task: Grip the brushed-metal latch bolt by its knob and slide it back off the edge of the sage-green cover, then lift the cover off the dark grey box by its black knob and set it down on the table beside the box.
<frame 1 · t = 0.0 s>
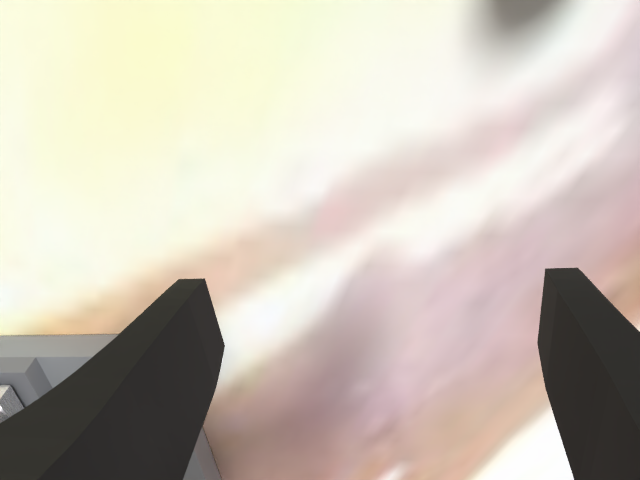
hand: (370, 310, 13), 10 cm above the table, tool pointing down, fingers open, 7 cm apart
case: (91, 437, 34), on the table
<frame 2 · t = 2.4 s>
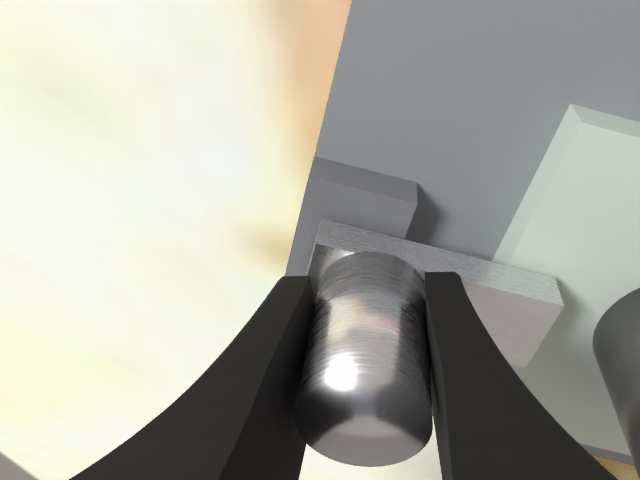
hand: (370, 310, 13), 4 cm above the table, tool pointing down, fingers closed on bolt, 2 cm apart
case: (604, 231, 16), on the table
bolt: (427, 348, 12), point 5 cm above the table, slide at 0.0 cm, touching gripper
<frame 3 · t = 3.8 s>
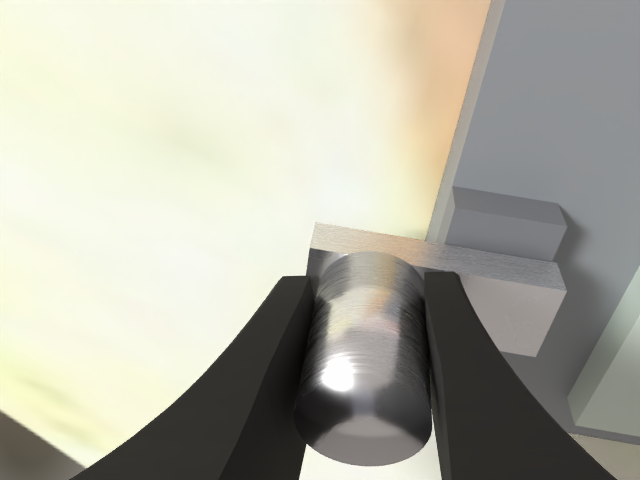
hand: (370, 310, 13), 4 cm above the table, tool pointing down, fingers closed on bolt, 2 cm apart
bolt: (428, 344, 12), point 5 cm above the table, slide at 3.5 cm, touching gripper
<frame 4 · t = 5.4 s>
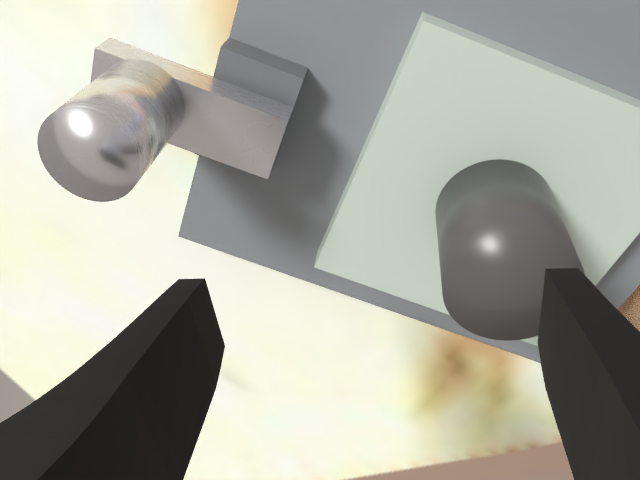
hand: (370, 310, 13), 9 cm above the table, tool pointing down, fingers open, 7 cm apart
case: (458, 134, 20), on the table
lid: (489, 194, 20), point 1 cm above the table, touching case
bolt: (171, 135, 16), point 5 cm above the table, slide at 3.5 cm
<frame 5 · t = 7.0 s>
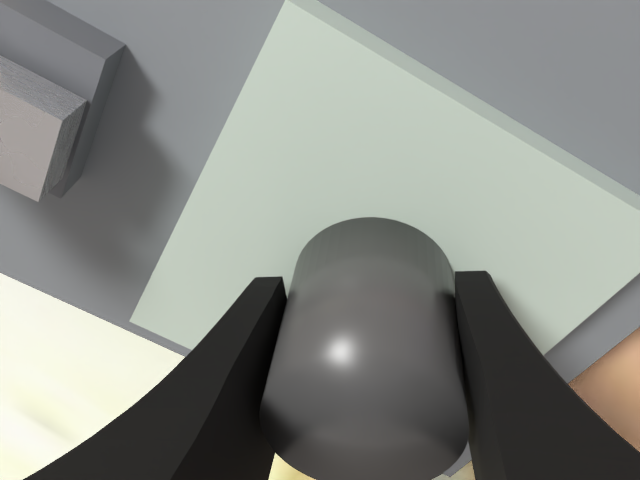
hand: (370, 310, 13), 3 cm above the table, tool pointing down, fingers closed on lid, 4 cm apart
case: (346, 168, 15), on the table
lid: (374, 258, 14), point 1 cm above the table, touching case, gripper
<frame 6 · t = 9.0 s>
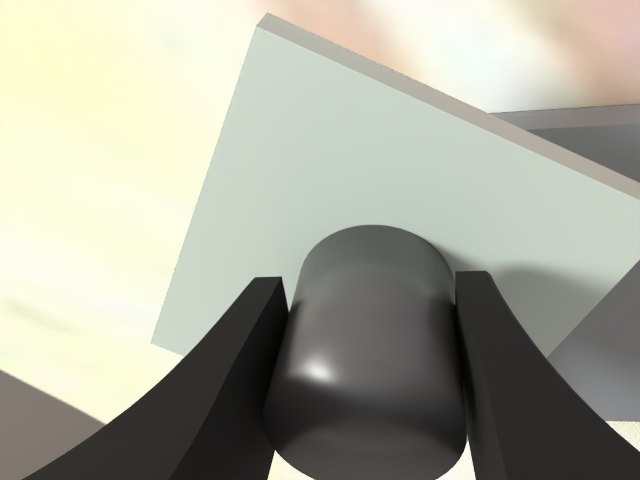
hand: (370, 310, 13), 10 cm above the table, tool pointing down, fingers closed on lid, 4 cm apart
lid: (377, 264, 15), point 8 cm above the table, touching gripper
when the fingers open (4 cm above the table, at t = 11.0 s): lid drops 2 cm, on the table.
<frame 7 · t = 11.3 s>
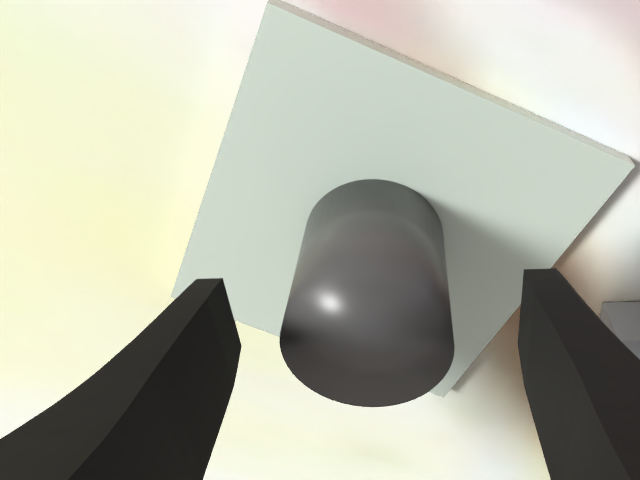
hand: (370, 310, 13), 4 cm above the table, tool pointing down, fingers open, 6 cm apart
lid: (374, 219, 16), on the table
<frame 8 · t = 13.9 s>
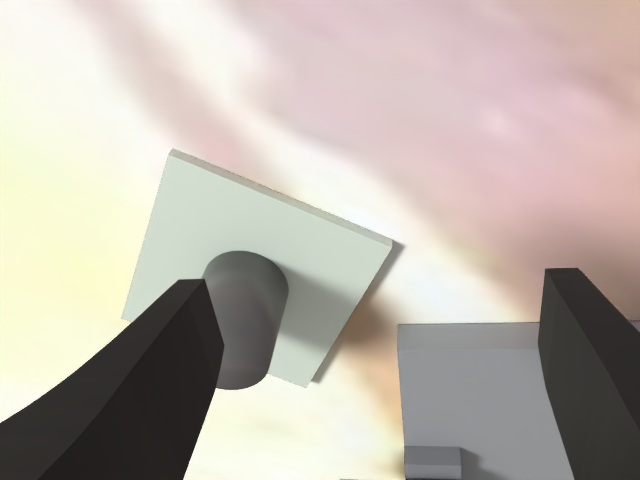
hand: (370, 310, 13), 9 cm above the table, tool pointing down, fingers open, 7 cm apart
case: (576, 432, 28), on the table
lid: (251, 271, 25), on the table
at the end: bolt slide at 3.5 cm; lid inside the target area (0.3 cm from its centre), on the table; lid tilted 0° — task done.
